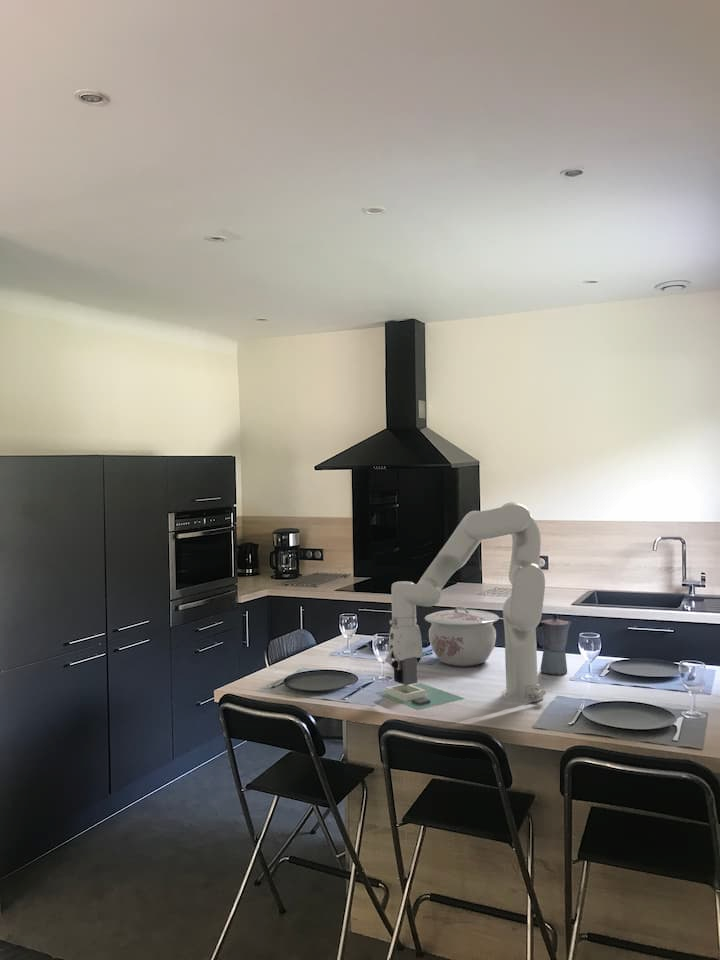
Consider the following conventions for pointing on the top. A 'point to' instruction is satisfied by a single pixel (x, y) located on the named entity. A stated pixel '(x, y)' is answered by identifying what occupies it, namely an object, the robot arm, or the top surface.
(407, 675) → the plug
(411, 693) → the board
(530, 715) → the top surface
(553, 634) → the moka pot
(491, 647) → the chamber pot
